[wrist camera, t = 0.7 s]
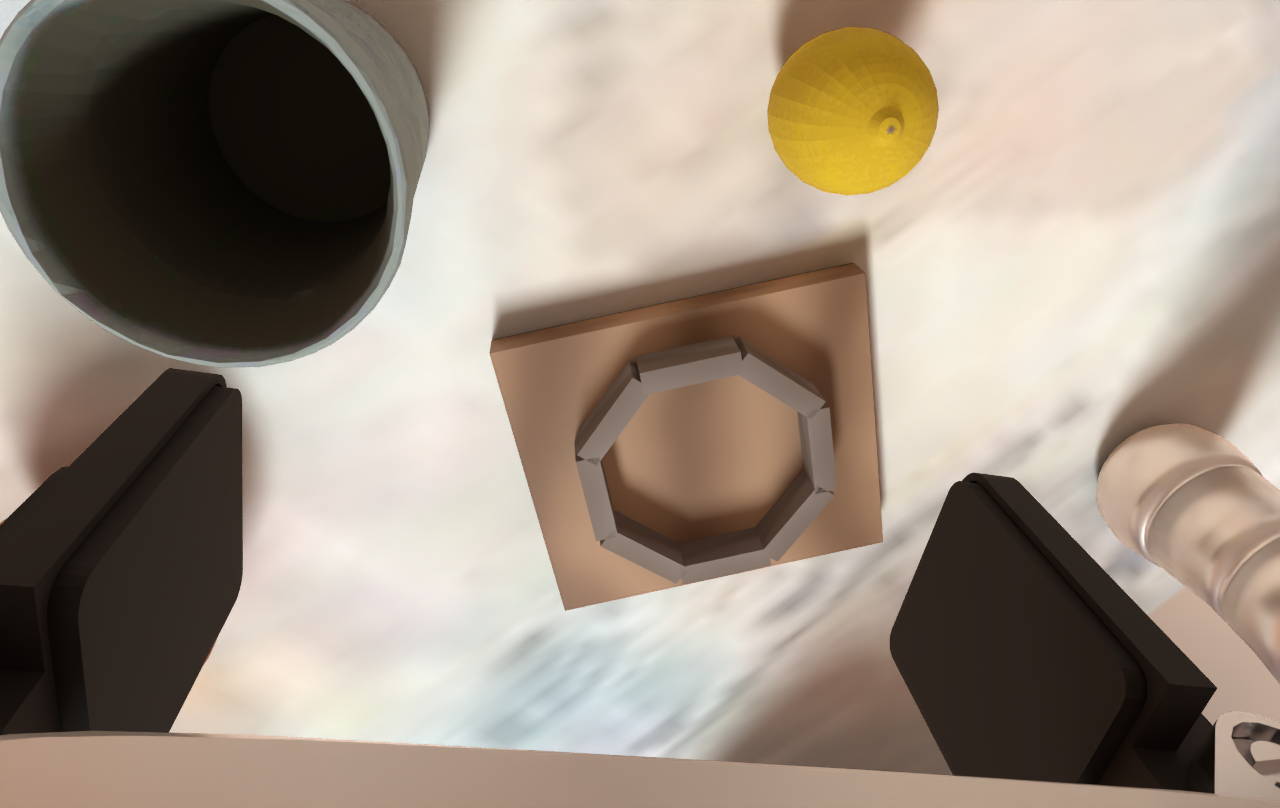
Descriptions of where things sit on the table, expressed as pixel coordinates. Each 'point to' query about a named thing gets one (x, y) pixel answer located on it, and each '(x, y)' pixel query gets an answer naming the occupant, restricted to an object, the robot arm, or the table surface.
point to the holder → (698, 434)
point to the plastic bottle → (1201, 524)
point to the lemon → (852, 111)
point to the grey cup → (211, 168)
